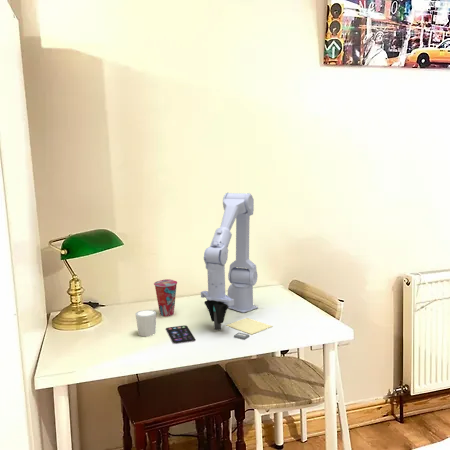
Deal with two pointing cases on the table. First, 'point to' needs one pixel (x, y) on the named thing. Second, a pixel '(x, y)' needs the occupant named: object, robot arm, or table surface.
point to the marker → (216, 325)
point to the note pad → (249, 326)
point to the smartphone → (180, 334)
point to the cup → (166, 296)
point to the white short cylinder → (146, 322)
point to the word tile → (241, 336)
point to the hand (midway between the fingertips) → (217, 321)
